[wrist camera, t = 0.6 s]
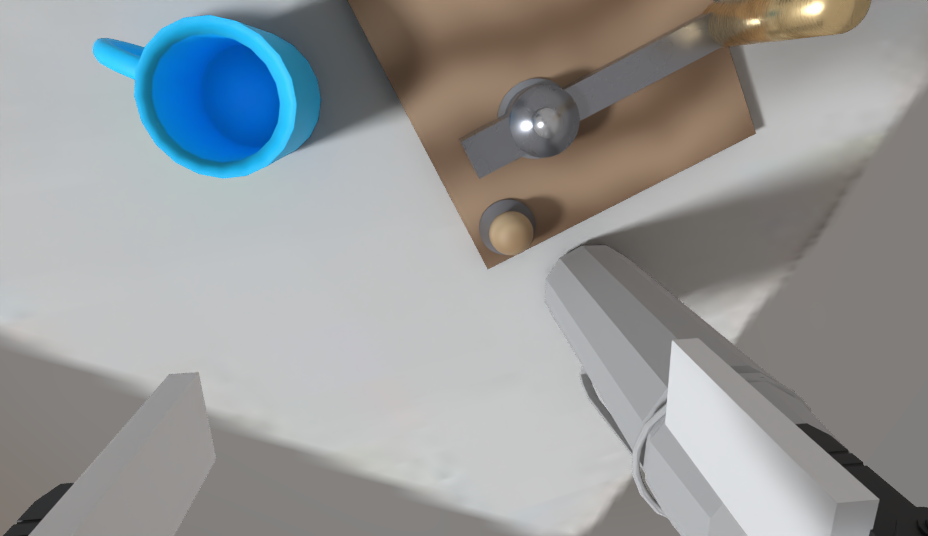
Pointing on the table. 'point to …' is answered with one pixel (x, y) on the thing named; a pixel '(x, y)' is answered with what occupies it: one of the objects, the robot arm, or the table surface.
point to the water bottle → (649, 376)
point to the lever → (646, 73)
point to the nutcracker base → (553, 63)
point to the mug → (219, 93)
